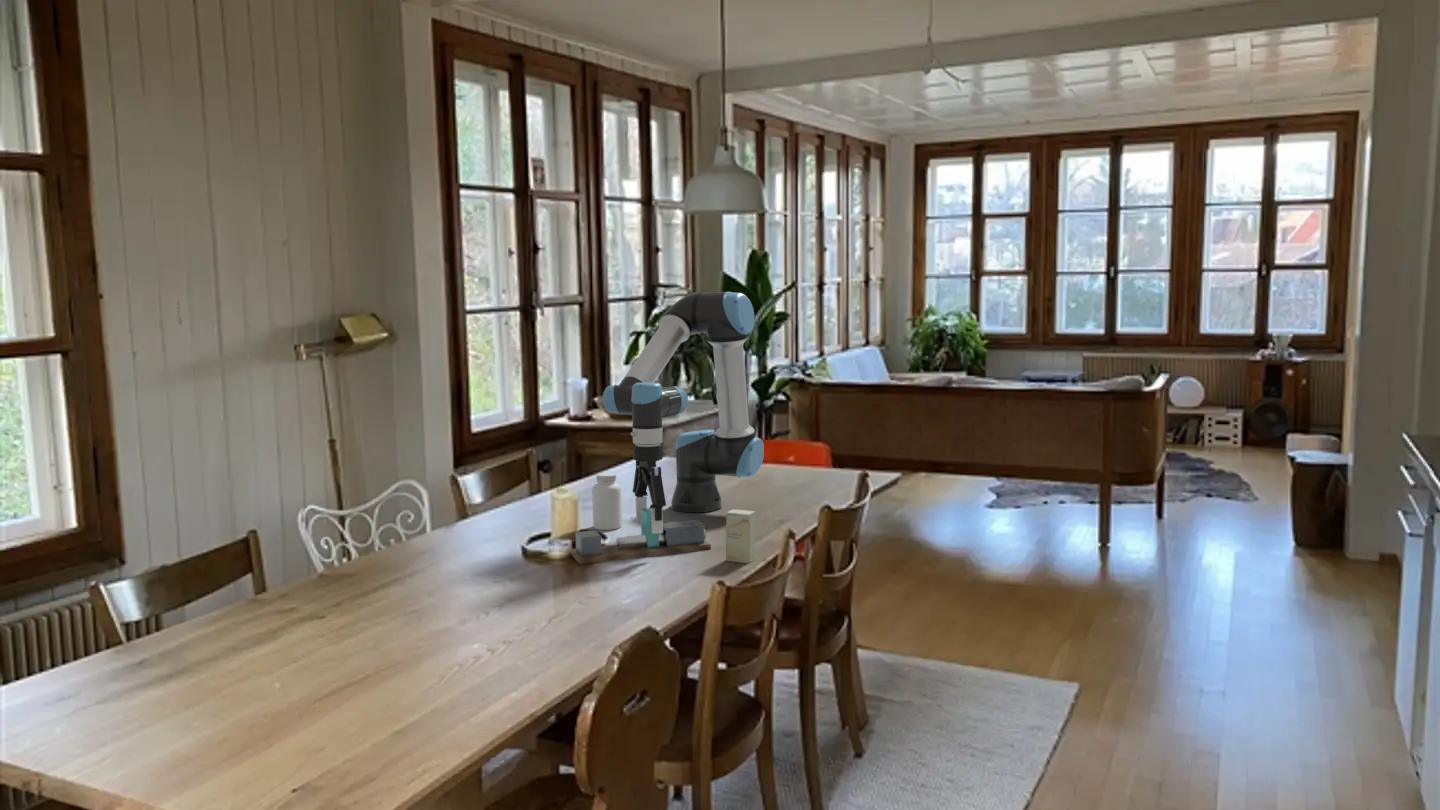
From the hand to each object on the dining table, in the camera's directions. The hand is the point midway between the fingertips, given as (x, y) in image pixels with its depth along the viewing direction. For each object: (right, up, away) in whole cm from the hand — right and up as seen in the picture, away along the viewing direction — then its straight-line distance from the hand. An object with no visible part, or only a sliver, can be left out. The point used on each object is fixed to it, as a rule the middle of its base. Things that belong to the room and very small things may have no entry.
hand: (649, 527), depth 263 cm
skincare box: (+23, -7, -9) cm, 26 cm away
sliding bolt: (+3, -4, +2) cm, 6 cm away
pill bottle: (-13, -3, +27) cm, 30 cm away
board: (-2, -6, 0) cm, 6 cm away
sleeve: (+8, -4, +4) cm, 10 cm away
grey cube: (-15, -6, -5) cm, 16 cm away
